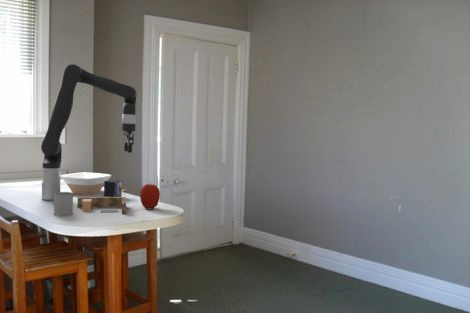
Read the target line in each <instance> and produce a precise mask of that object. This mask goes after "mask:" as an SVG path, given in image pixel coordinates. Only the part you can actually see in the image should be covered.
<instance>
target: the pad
mask: <svg viewBox="0 0 470 313" xmlns="http://www.w3.org/2000/svg"><path fill="white" fill-rule="evenodd" d="M118 212H119V211H118V209H101V210H100V213H118Z"/></svg>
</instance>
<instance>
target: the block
mask: <svg viewBox="0 0 470 313" xmlns="http://www.w3.org/2000/svg"><path fill="white" fill-rule="evenodd" d="M91 202H92V199H83V201H82V208H81V210H82V211H81V212H91V211H92V207H91Z"/></svg>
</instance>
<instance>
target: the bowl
mask: <svg viewBox="0 0 470 313" xmlns="http://www.w3.org/2000/svg"><path fill="white" fill-rule="evenodd" d="M110 178H112V174H110V173H109V174H108V173H100V172H84V171H83V172H74V173H68V174H66V173H65V174H60V180H61V179H62V181H64V183H66V185H67V186H68V188H69V190H70V191H71V193H73V194H75V195H82V196H83V195H84V196H85V195H86V196H88V195H89V196H90V195H94V194H99V193H100V192H101V190H102V189H103V188H104V181H106V180H110Z"/></svg>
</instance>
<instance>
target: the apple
mask: <svg viewBox="0 0 470 313" xmlns="http://www.w3.org/2000/svg"><path fill="white" fill-rule="evenodd" d="M160 192H161V190H160V188H159V186H158V185H156V184H151V183H148V184H144V185H143V186H142V187H141V188H140V192H139V198H140V199H139V200H140V203H141V205H142V206H143V208H144V209H145V210H152V209H153V210H154V209H155V208H156V207H157V206H158V205H159V201H160V196H161V193H160Z"/></svg>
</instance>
